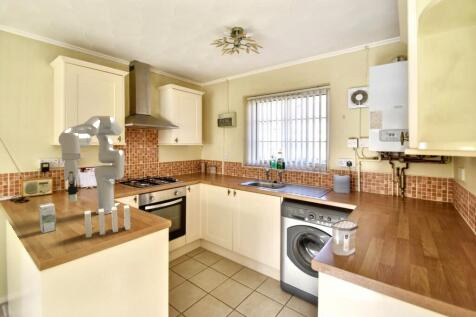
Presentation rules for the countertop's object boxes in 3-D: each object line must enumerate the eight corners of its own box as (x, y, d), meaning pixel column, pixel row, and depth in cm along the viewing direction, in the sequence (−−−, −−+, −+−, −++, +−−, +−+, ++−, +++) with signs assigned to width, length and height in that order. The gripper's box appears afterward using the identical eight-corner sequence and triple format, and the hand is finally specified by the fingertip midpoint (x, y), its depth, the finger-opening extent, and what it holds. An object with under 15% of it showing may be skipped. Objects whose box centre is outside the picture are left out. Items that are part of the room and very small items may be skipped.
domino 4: (129, 225, 131) (128, 205, 130) (130, 229, 126) (129, 207, 125) (124, 226, 130) (123, 205, 129) (125, 230, 125) (124, 208, 124)
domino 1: (91, 232, 121) (90, 210, 120) (91, 236, 116) (90, 213, 115) (86, 233, 120) (84, 211, 119) (85, 237, 115) (84, 214, 114)
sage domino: (77, 199, 119) (75, 176, 118) (76, 201, 114) (74, 177, 113) (71, 199, 118) (69, 176, 117) (69, 202, 112) (68, 178, 112)
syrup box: (53, 227, 128) (51, 202, 126) (56, 230, 124) (54, 204, 123) (40, 231, 123) (38, 204, 122) (42, 234, 119) (40, 206, 118)
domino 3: (117, 227, 128) (116, 206, 127) (118, 231, 123) (117, 209, 122) (112, 228, 126) (111, 207, 125) (113, 232, 121) (111, 210, 120)
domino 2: (104, 230, 125) (103, 208, 124) (105, 233, 120) (104, 211, 119) (99, 231, 123) (98, 209, 122) (99, 235, 118) (98, 212, 117)
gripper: (64, 156, 119) (65, 191, 121) (59, 158, 105) (61, 197, 106) (81, 156, 123) (83, 189, 125) (79, 158, 109) (81, 195, 110)
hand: (73, 192), depth 115 cm, fingers closed on sage domino, 5 cm apart
